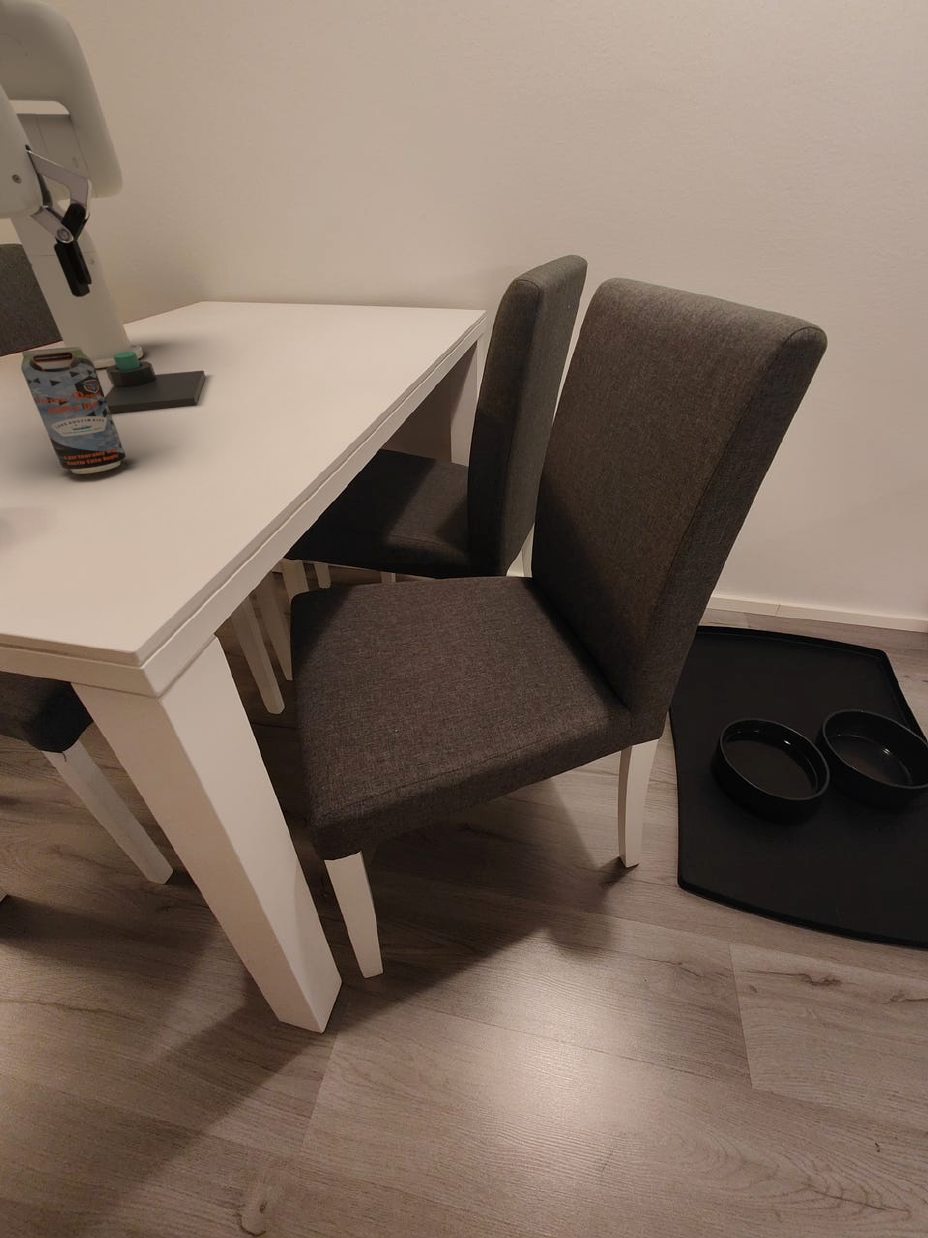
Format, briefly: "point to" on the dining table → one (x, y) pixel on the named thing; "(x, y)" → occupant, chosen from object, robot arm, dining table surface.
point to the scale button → (126, 360)
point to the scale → (151, 389)
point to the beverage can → (73, 409)
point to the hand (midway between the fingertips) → (23, 298)
